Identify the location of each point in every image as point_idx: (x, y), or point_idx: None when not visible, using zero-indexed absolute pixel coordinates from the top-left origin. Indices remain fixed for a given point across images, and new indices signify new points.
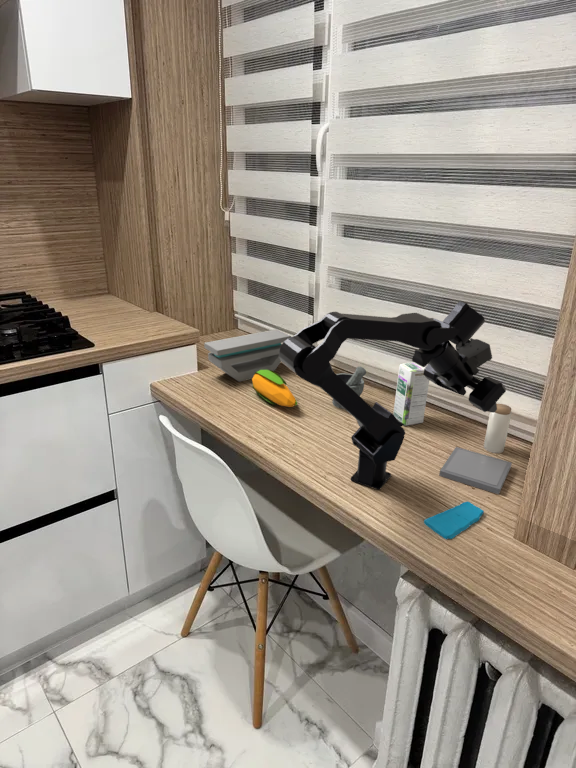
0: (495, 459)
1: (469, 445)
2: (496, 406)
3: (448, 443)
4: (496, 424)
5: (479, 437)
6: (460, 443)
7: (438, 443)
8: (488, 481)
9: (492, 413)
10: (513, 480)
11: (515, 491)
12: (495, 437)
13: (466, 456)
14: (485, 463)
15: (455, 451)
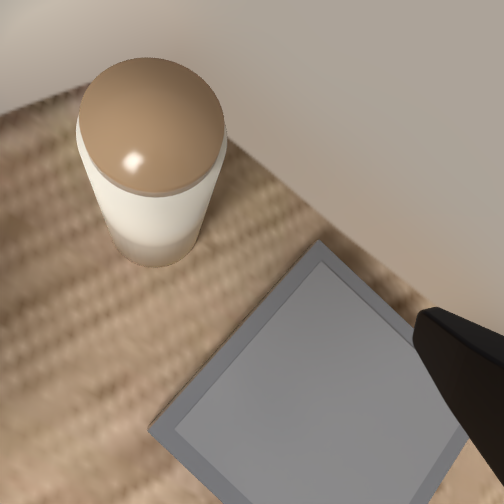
0: (291, 296)
1: (106, 323)
2: (484, 330)
3: (62, 426)
4: (197, 212)
5: (41, 231)
6: (77, 360)
7: (49, 485)
8: (444, 422)
9: (159, 208)
10: (394, 289)
11: None
12: (196, 230)
13: (249, 422)
14: (317, 360)
15: (193, 457)
